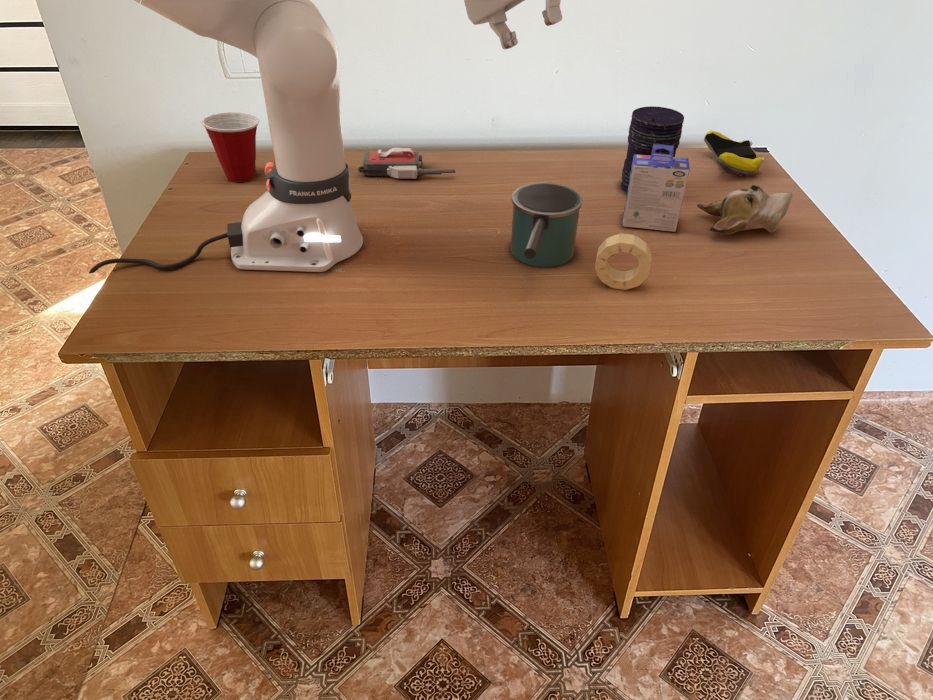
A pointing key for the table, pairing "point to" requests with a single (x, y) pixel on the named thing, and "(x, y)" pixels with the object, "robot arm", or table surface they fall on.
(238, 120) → the plastic cup
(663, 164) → the ink cartridge box
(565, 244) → the saucepan
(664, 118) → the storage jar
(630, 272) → the tape roll
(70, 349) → the table surface
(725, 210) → the ceramic sculpture
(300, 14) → the robot arm
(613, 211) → the table surface
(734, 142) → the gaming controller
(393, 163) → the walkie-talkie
